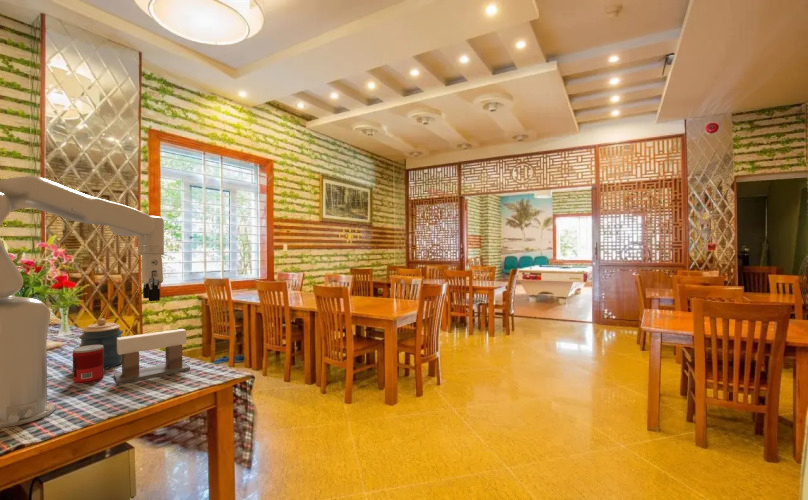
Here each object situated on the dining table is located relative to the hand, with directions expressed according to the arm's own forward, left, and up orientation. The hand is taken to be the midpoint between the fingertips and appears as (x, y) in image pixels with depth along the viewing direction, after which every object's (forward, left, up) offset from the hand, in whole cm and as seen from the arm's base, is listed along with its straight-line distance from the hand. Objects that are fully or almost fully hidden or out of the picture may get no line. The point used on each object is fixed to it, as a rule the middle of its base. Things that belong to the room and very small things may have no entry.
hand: (151, 299), depth 132 cm
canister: (+24, +12, -27) cm, 38 cm away
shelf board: (0, 0, -17) cm, 17 cm away
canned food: (+7, +17, -27) cm, 32 cm away
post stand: (0, 0, -26) cm, 26 cm away
